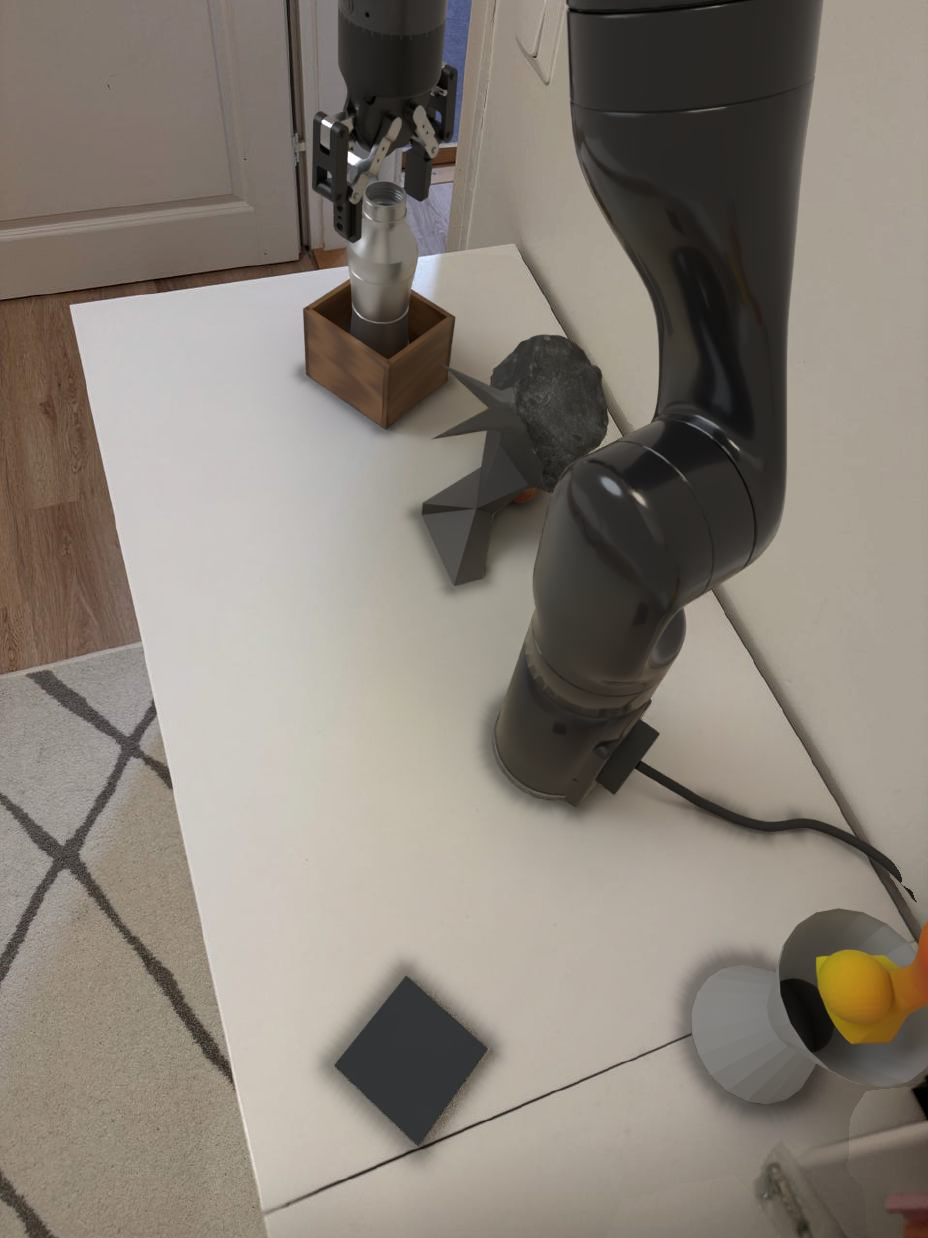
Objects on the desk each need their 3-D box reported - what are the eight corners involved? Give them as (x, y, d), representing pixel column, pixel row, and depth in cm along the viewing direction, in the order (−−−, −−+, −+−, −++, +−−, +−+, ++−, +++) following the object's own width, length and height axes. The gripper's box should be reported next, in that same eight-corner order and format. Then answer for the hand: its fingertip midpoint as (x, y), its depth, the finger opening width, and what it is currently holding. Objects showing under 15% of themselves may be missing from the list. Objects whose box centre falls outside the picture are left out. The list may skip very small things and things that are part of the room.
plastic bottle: (413, 359, 92) (428, 176, 75) (404, 405, 88) (418, 224, 72) (351, 349, 92) (353, 163, 75) (339, 395, 88) (338, 210, 71)
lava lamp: (800, 961, 64) (1193, 774, 34) (832, 1105, 59) (1321, 1031, 29) (678, 963, 63) (975, 771, 33) (701, 1109, 58) (1070, 1037, 28)
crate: (447, 380, 91) (455, 316, 84) (385, 429, 86) (388, 365, 80) (370, 329, 94) (372, 263, 87) (305, 374, 89) (302, 308, 82)
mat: (486, 1049, 58) (488, 1048, 58) (417, 1146, 55) (418, 1146, 54) (405, 976, 60) (406, 975, 60) (334, 1066, 57) (334, 1065, 56)
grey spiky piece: (608, 544, 82) (668, 401, 67) (453, 585, 78) (481, 441, 62) (544, 434, 88) (586, 280, 73) (399, 465, 84) (411, 309, 69)
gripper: (363, 58, 57) (359, 274, 71) (497, -6, 64) (469, 202, 77) (279, 11, 59) (290, 230, 73) (417, -47, 66) (404, 164, 79)
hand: (383, 216), depth 75 cm, fingers open, 8 cm apart
